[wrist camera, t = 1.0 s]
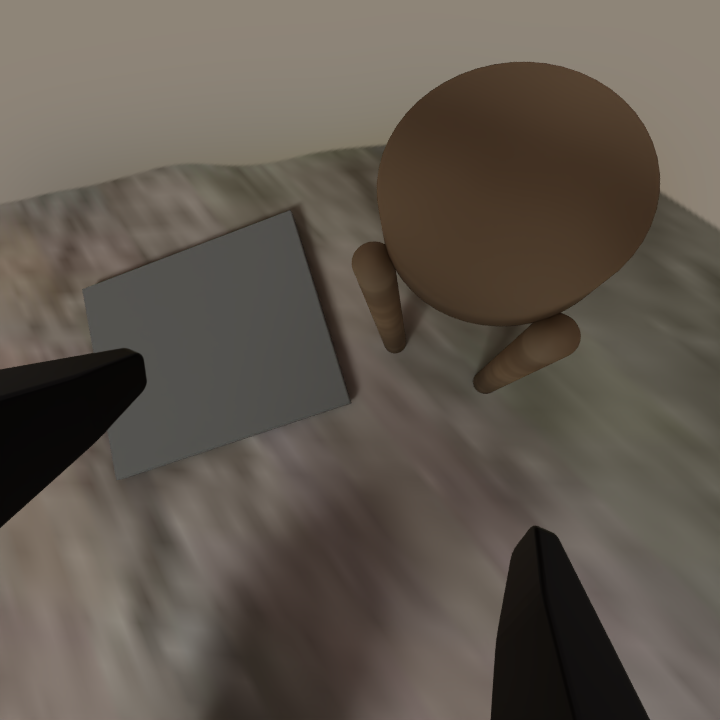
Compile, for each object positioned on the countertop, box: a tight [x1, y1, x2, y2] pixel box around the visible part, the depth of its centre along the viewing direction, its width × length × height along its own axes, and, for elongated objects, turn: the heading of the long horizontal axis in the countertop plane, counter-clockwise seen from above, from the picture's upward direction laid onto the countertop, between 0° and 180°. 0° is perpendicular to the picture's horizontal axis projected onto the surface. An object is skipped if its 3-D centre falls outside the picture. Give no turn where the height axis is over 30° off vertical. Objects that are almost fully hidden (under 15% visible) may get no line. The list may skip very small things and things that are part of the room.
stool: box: [352, 62, 660, 394], centre depth 16 cm, size 6×6×12 cm
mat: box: [82, 210, 351, 480], centre depth 23 cm, size 12×14×1 cm
